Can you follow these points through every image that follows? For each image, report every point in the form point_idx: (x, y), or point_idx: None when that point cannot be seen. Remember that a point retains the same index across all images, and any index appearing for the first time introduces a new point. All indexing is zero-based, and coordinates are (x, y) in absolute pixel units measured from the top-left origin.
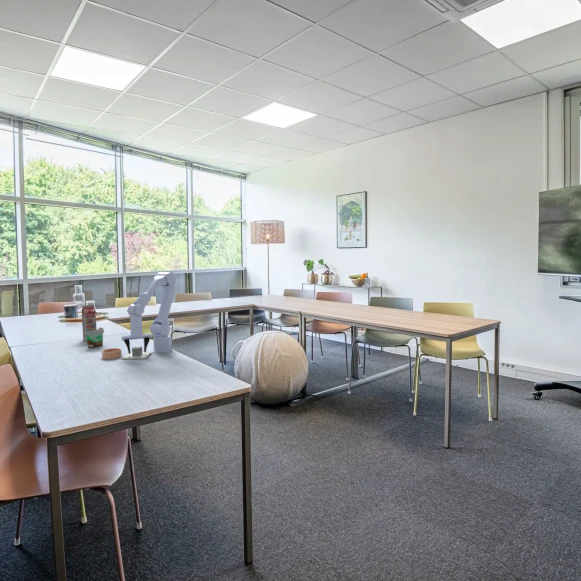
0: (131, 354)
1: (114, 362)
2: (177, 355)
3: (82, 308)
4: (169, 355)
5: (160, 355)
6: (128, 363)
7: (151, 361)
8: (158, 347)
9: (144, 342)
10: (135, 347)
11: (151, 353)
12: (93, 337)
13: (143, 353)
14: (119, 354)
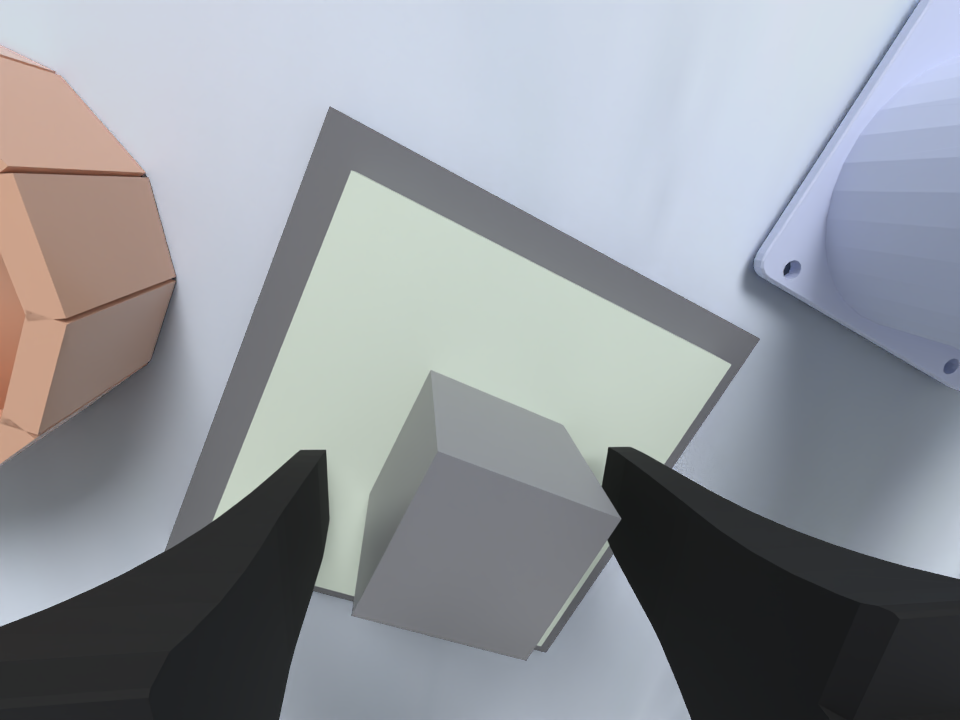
0: (365, 380)
1: (79, 592)
2: (940, 558)
3: None
4: (874, 520)
5: (788, 471)
6: (297, 696)
7: (579, 698)
8: (946, 337)
9: (723, 673)
10: (446, 569)
11: (723, 352)
12: None
13: (586, 406)
14: (93, 400)
